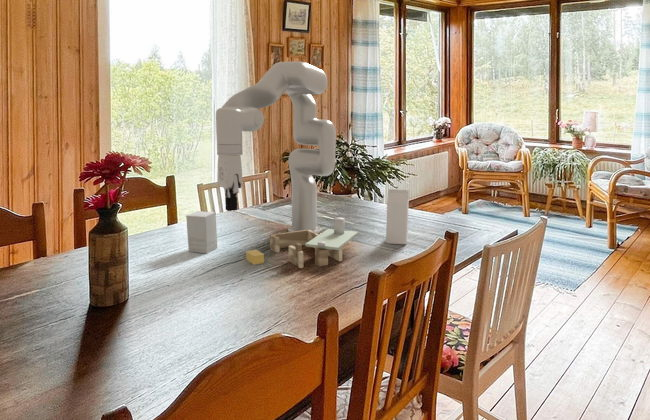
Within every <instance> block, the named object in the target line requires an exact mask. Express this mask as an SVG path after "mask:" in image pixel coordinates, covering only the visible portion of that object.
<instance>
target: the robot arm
mask: <svg viewBox="0 0 650 420" xmlns="http://www.w3.org/2000/svg"><path fill="white" fill-rule="evenodd" d="M327 88H328V77H327V75H326V73H325V72H324V71H323V69H320V68H318V67H316V66H314V65H311V64H309V63H308V62H304V61H279V62H276V63H274V64H273V65H272V66H271V67H270V68H269V69H268V70H267V71H266V72H265V74H264V75H263V76H262V77H261V78H259V80H258V82H256V83H255V84H253V85H251V86H249V87H246V88H245V89H242V90H241V91H239V92H237V93H235V94H233V95H232V96H230V98H229V99H227V100H226V102H225V103H224V104H223V105H222V106H221V107H219V108H217V109H216V111H215V129H216V155H217V156H218V157H217V185H218V186H219V187H221V188H223V189H224V203H225V211H228V212H233V211H237V210H238V194H239V193H240V189H241V188H242V187H243V166H242V158H241V157H242V155H243V152H244V151H243V132H248V133H249V132H251V133H252V132H257V131H259V130H260V129H261V128H262V126H263V124H264V122H265V121H264V120H265V117H264V114H263V112H262V111H261V110H260V109H263V108H267V107H270V106H272V105H274V104H276V103H277V102H278V100H280V98H281V97H282V95H284V93H285V92H286V94H287V96H288V97H289V98H290V101H291V103H292V107H293V109H292V110H293V123H292V125H293V129H292V133H293V135H292V136H293V140H294V142H295V143H296V144H297V145H303V146H316V147H317V146H318V149H314V148H297V149H293V150H292V151H291V152H290V154H289V155H288V168H289V174H290V177H291V178H290V179H291V218H290V221H291V225H290V226H289V227H288V228H287V232H293V231H301V230H308V229H309V230H311V231H314V232H316V233H318V234H319V233H320V234H321V233H322V228H321V227H320V226H318V193H317V192H318V186H317V183H316V180H315V178H314V177H313V176H319V177H328V176H331V175H332V174H333V172H334V171H335V165H336V152H337V150H336V147H337V142H336V141H337V136H336V135H337V134H336V133H337V132H336V128H335V125H334V123H333V122H332V121H331V120H328V119H318V118H317V116H318V115H317V112H318V111H317V103H316V101H315V99H314V97H313V96H312V95H314V96H315V95H322V94H323V93H324V92H326V90H327Z"/></svg>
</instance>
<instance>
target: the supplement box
mask: <svg viewBox="0 0 650 420" xmlns="http://www.w3.org/2000/svg"><path fill="white" fill-rule="evenodd" d="M185 217H186V229H187V230H186V233H187V246H188V248H187V249H188V252H190V253H198V254H199V253H202V254H209V253H210V252H212V251H214V250H216V249H218V233H217V231H218V230H217V213H216V212H214V211H202V210H201V211H200V210H196V211H194V212H192V213H190V214H187V215H186V216H185Z"/></svg>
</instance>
